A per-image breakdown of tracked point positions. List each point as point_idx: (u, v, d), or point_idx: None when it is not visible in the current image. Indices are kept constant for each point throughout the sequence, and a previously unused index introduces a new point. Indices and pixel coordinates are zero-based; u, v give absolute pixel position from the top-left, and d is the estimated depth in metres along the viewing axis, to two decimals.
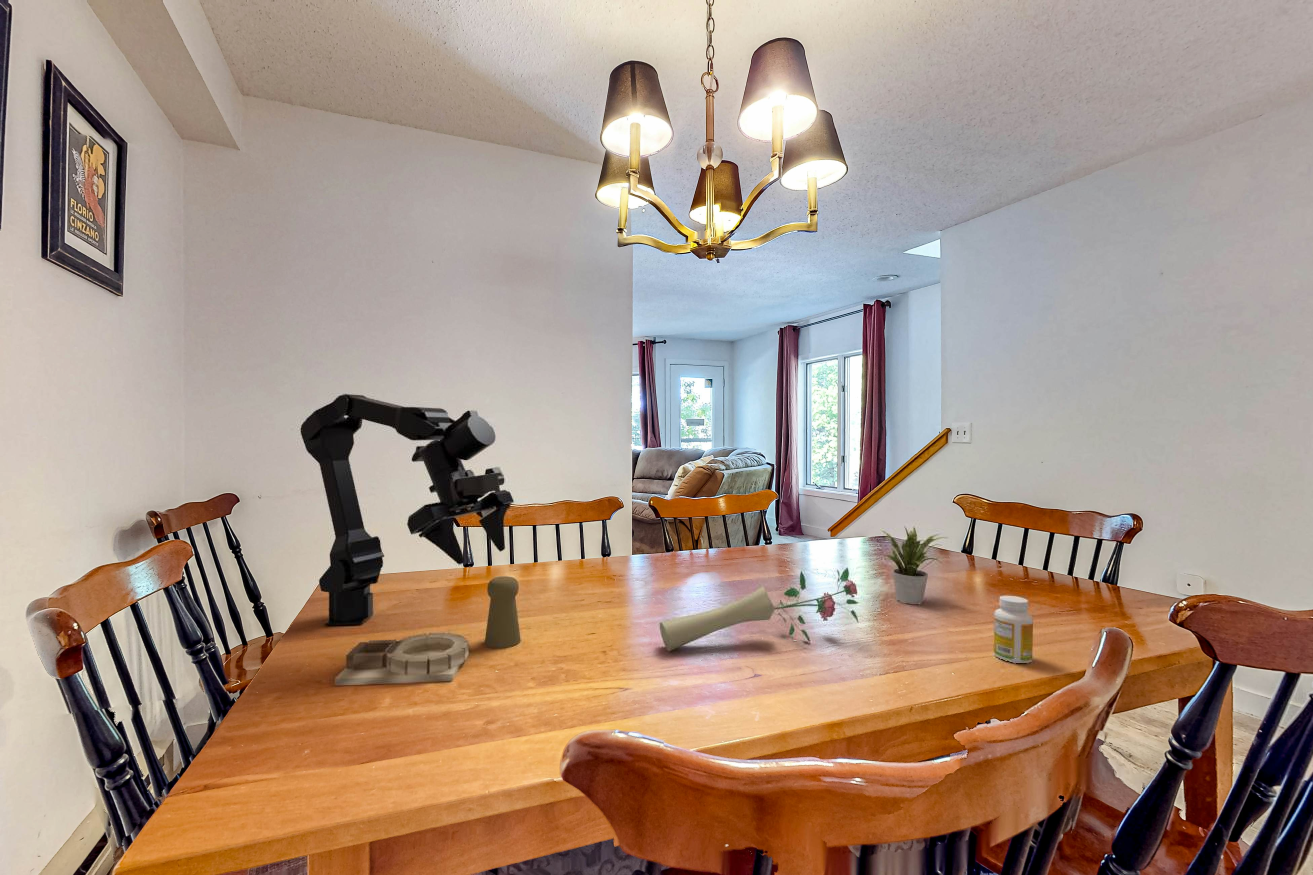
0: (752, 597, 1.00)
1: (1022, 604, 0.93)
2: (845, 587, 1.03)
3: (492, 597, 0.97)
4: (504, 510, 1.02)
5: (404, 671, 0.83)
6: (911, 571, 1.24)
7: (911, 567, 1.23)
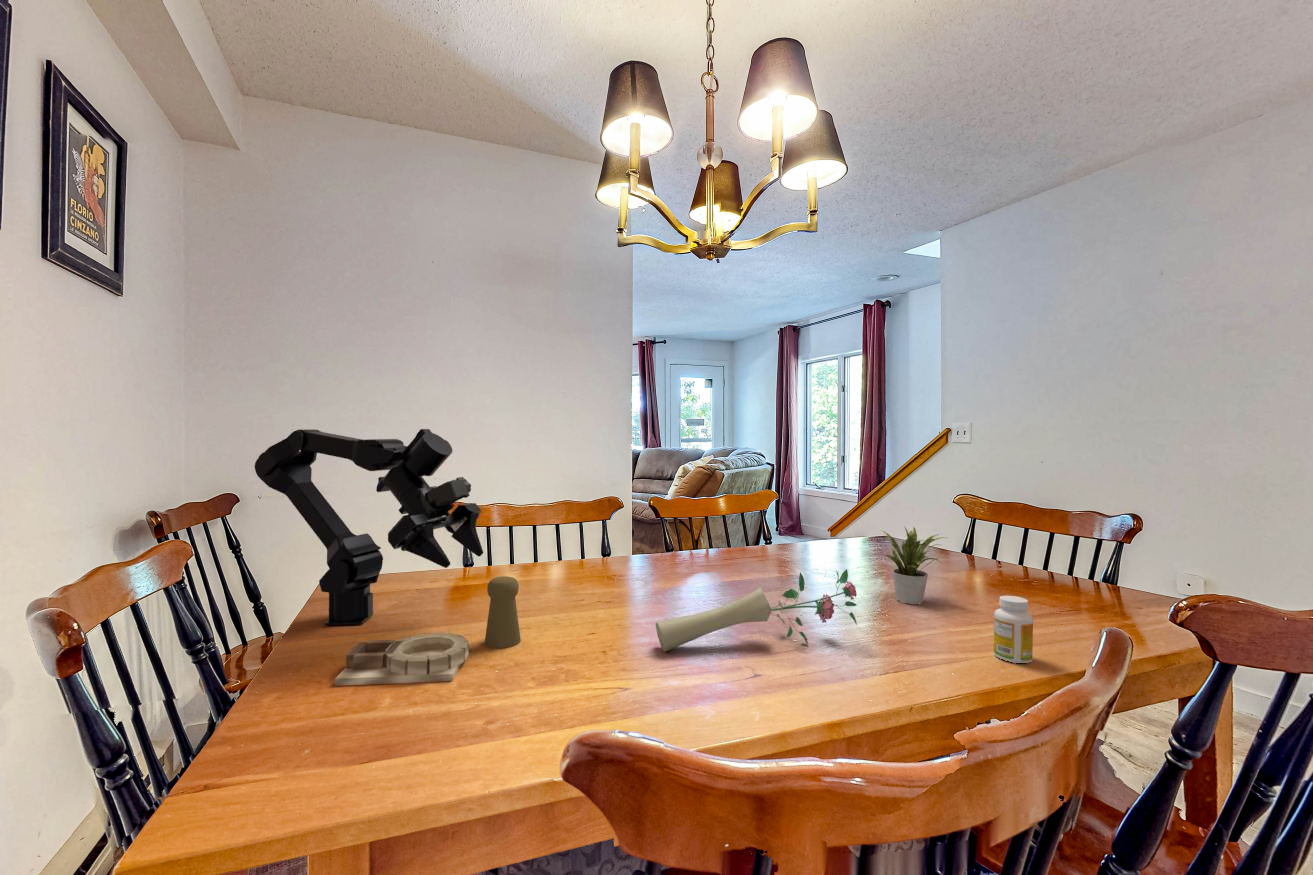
0: (749, 598, 0.99)
1: (1022, 604, 0.93)
2: (844, 589, 1.02)
3: (492, 597, 0.97)
4: (474, 518, 1.08)
5: (404, 671, 0.83)
6: (911, 571, 1.24)
7: (911, 567, 1.23)
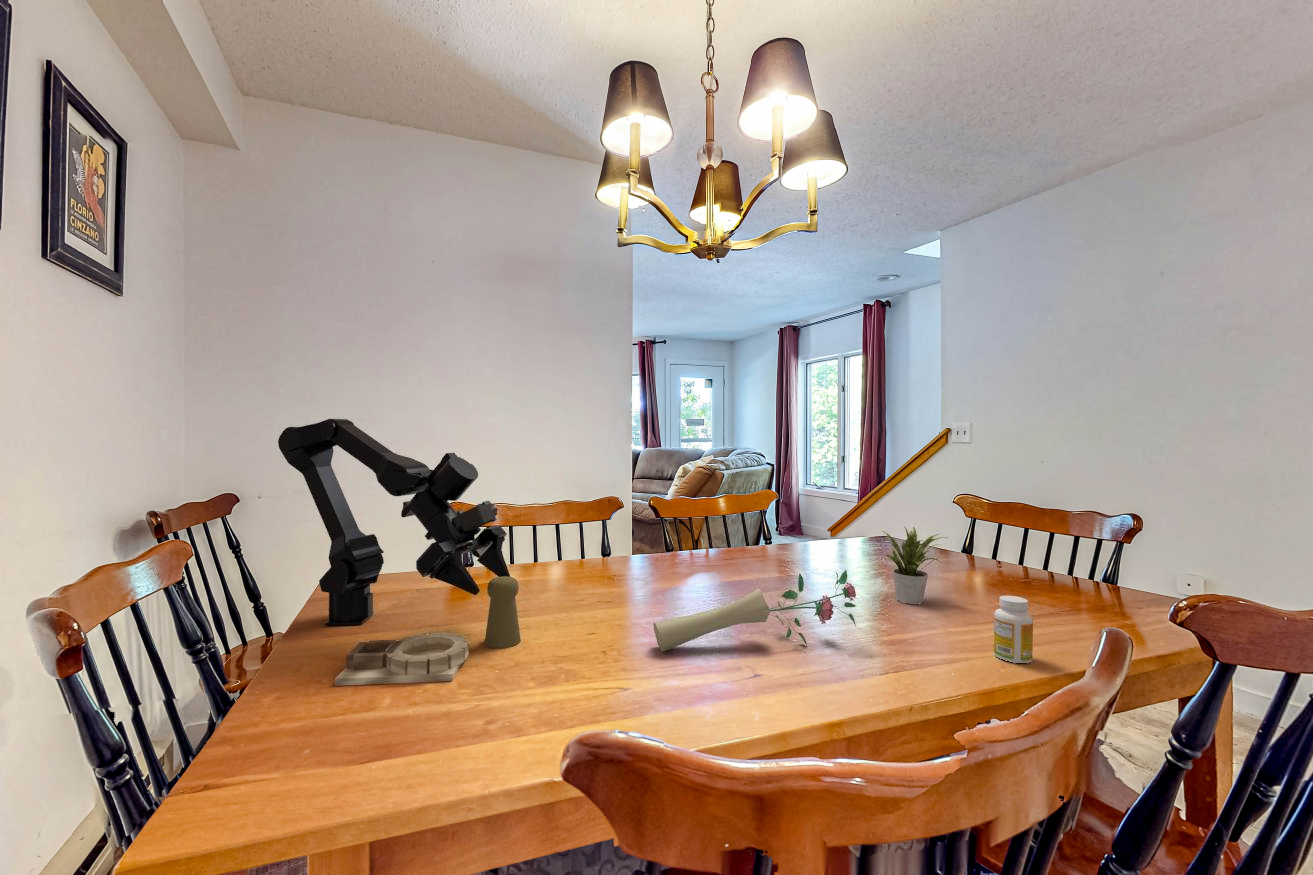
0: (747, 598, 0.99)
1: (1022, 604, 0.93)
2: (844, 590, 1.01)
3: (492, 597, 0.97)
4: (500, 542, 1.06)
5: (404, 671, 0.83)
6: (911, 571, 1.24)
7: (911, 567, 1.23)
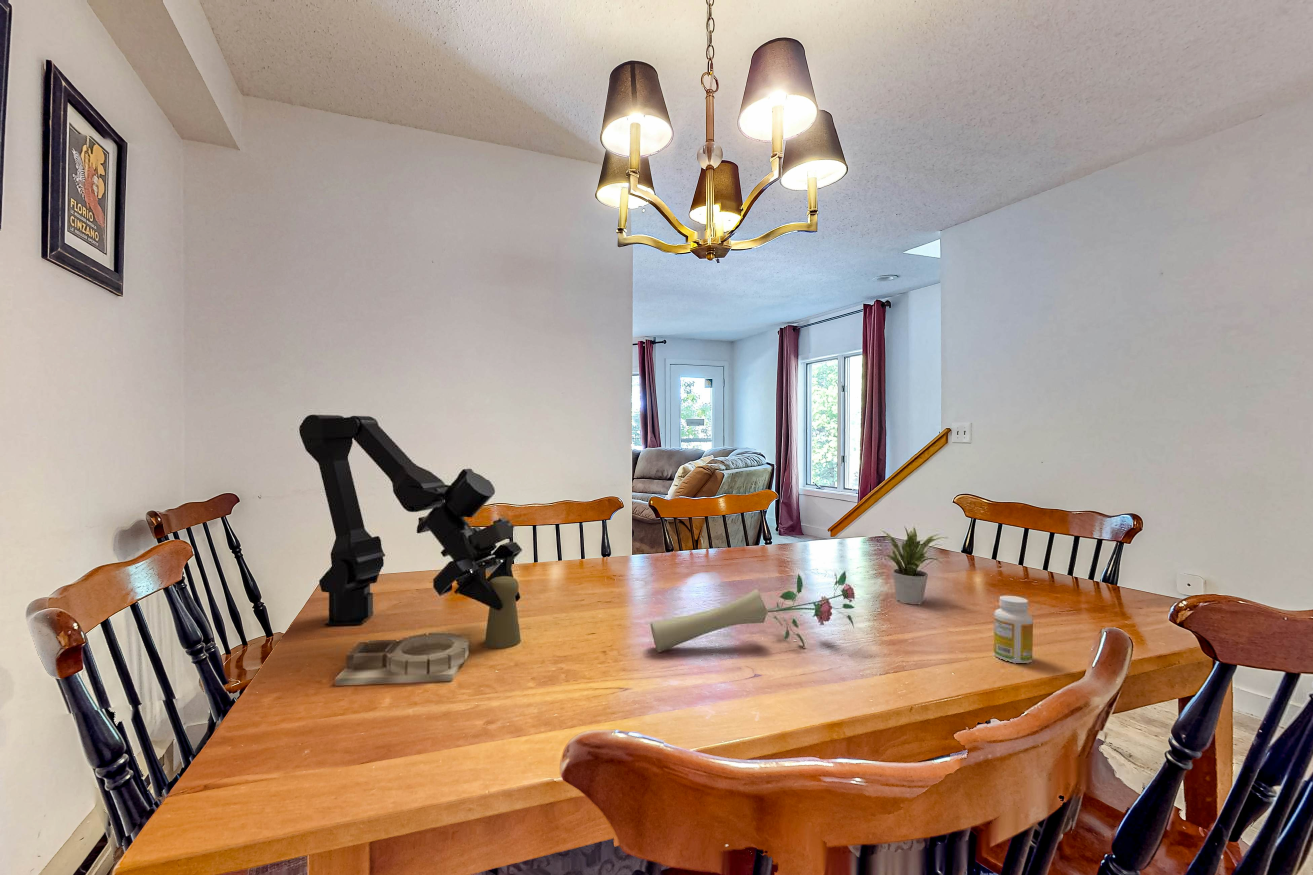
0: (745, 599, 0.98)
1: (1022, 604, 0.93)
2: (843, 591, 1.00)
3: None
4: (510, 561, 1.04)
5: (404, 671, 0.83)
6: (911, 571, 1.24)
7: (911, 567, 1.23)
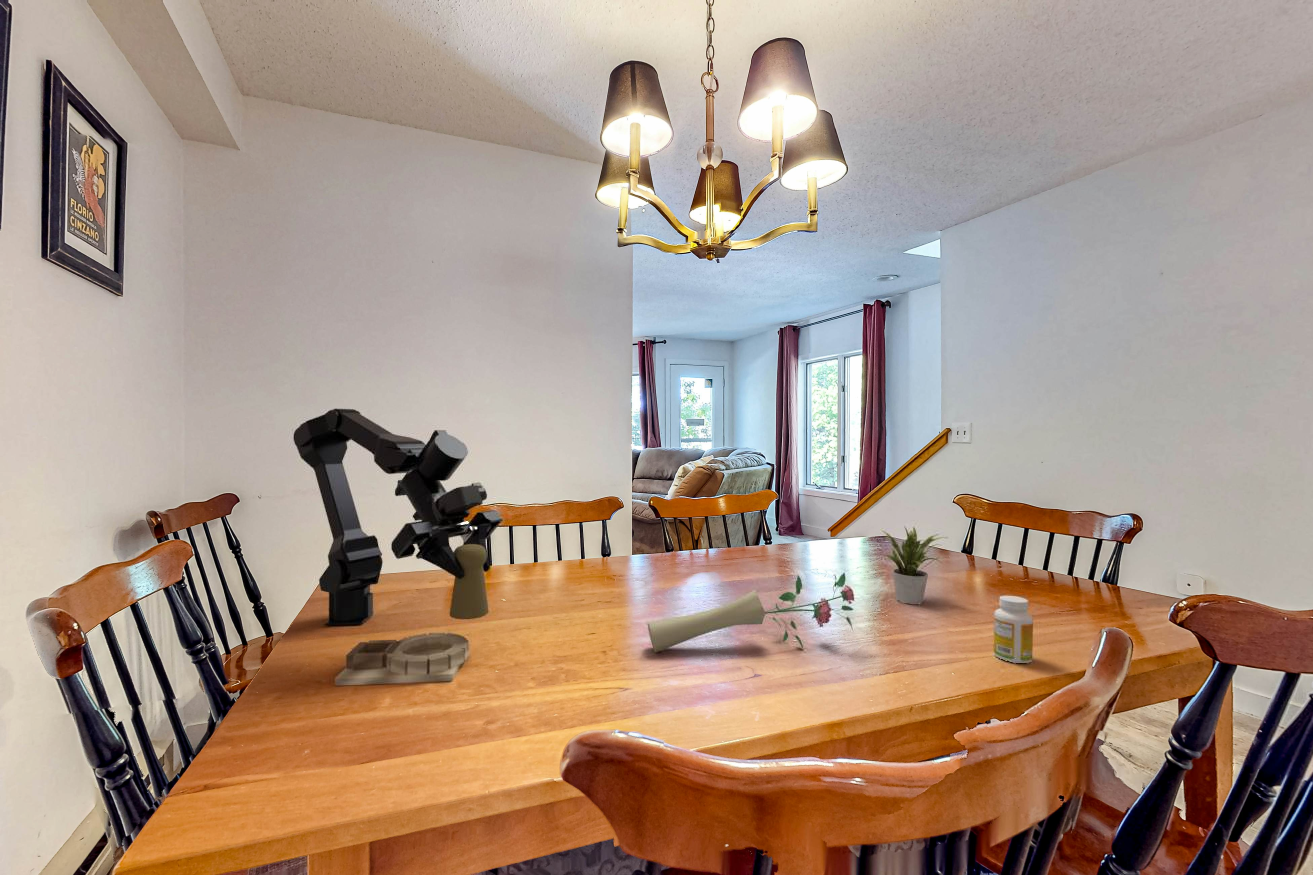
0: (742, 600, 0.98)
1: (1022, 604, 0.93)
2: (842, 593, 0.99)
3: None
4: (484, 529, 0.98)
5: (404, 671, 0.83)
6: (911, 571, 1.24)
7: (911, 567, 1.23)
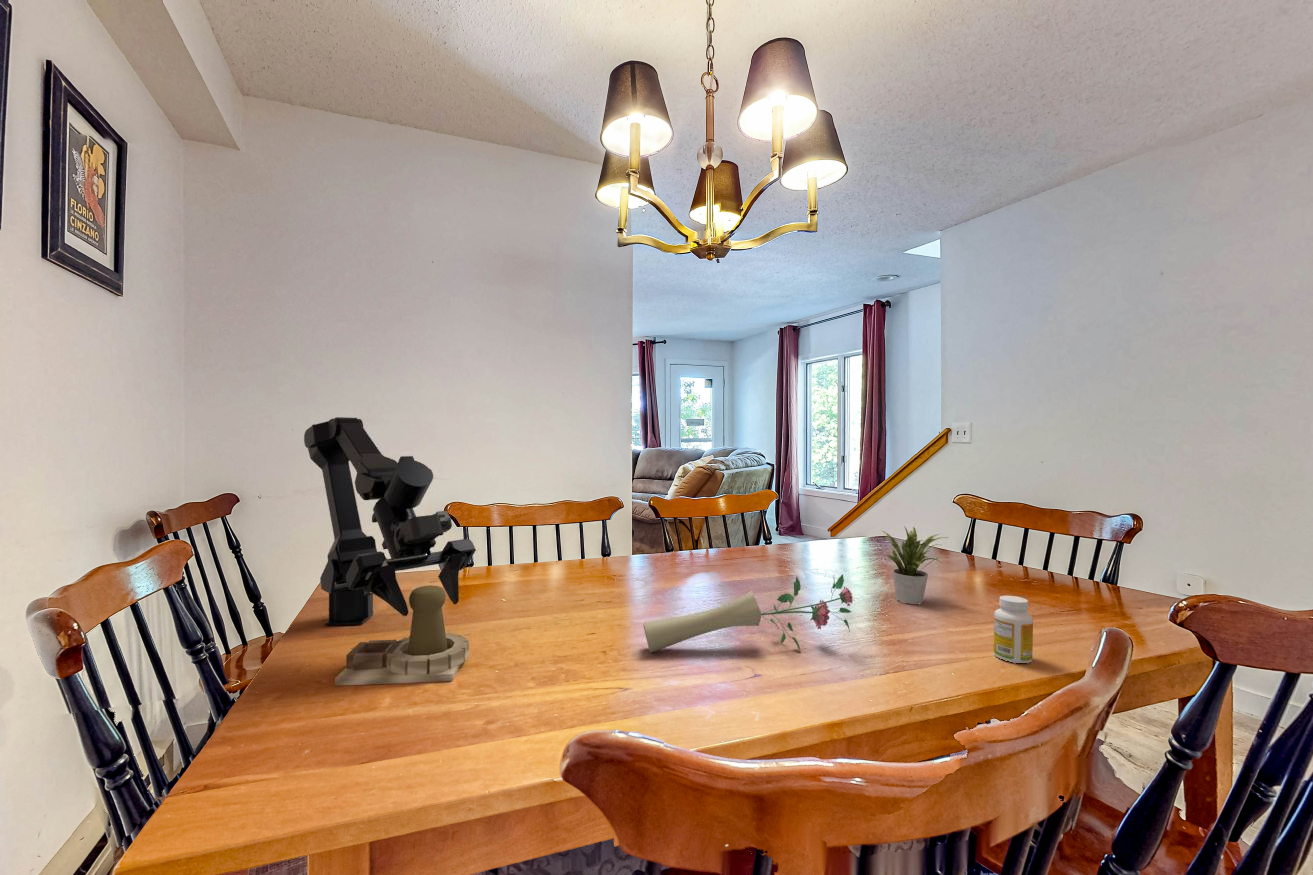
0: (739, 601, 0.97)
1: (1022, 604, 0.93)
2: (840, 595, 0.98)
3: None
4: (458, 559, 0.94)
5: (404, 671, 0.83)
6: (911, 571, 1.24)
7: (911, 567, 1.23)
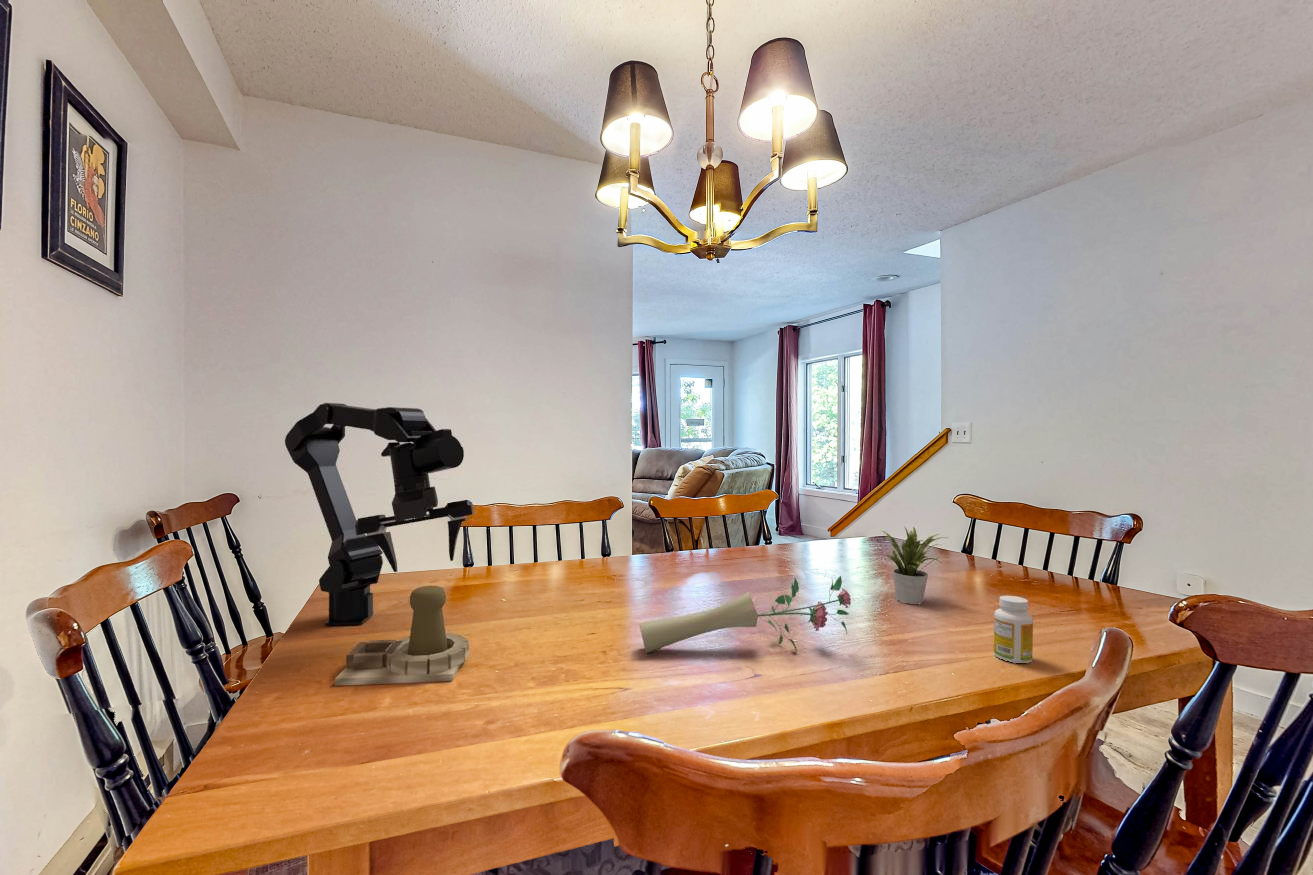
0: (735, 602, 0.97)
1: (1022, 604, 0.93)
2: (839, 596, 0.97)
3: None
4: (455, 524, 1.01)
5: (404, 671, 0.83)
6: (911, 571, 1.24)
7: (911, 567, 1.23)
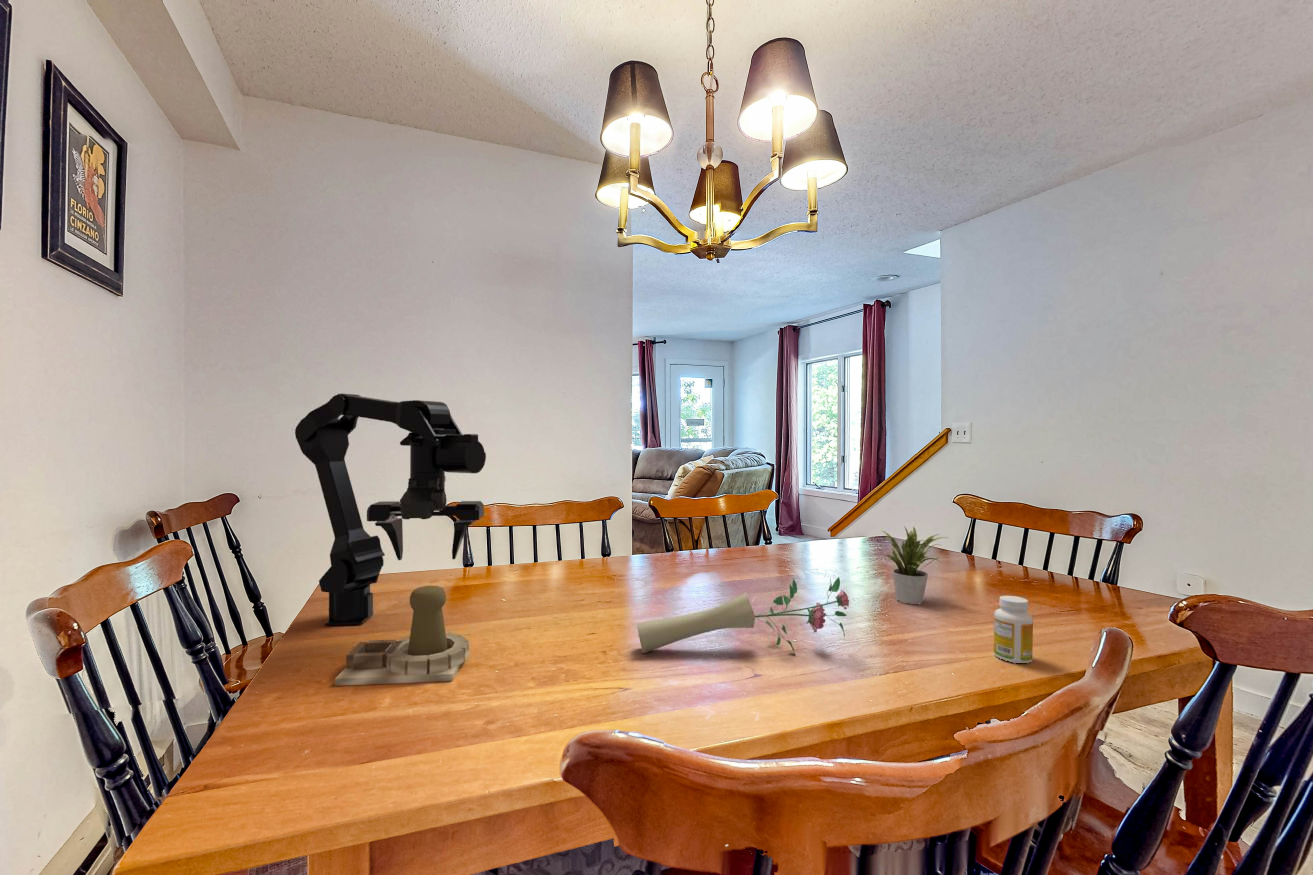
0: (732, 603, 0.96)
1: (1022, 604, 0.93)
2: (837, 598, 0.96)
3: None
4: (461, 526, 1.02)
5: (404, 671, 0.83)
6: (911, 571, 1.24)
7: (911, 567, 1.23)
